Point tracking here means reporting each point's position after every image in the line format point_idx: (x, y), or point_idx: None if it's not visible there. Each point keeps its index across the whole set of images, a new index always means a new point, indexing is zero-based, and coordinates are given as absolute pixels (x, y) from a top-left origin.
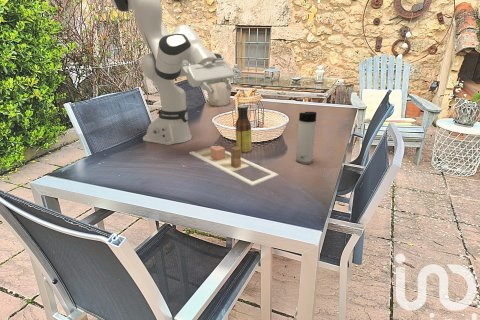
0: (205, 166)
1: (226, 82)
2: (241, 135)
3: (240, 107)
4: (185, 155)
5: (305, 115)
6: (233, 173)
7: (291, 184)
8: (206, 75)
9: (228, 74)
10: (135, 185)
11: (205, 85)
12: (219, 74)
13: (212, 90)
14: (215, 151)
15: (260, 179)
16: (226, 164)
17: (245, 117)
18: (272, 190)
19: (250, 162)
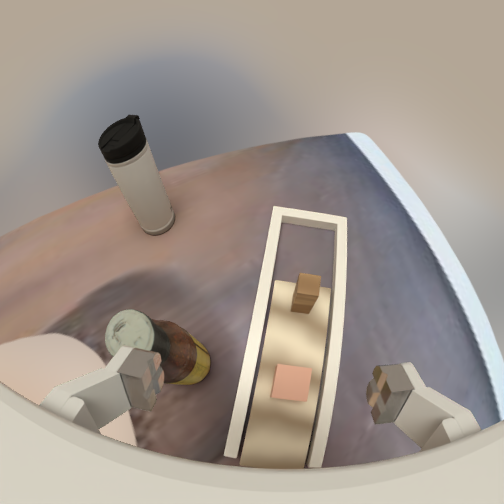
0: (337, 382)
1: (92, 426)
2: (197, 346)
3: (152, 332)
4: None
5: (141, 127)
6: (341, 274)
7: (273, 189)
8: (452, 498)
9: (12, 407)
10: (476, 392)
11: (455, 405)
12: (145, 495)
13: (394, 366)
14: (310, 374)
15: (319, 218)
16: (309, 330)
17: (157, 325)
18: (316, 201)
19: (262, 285)
